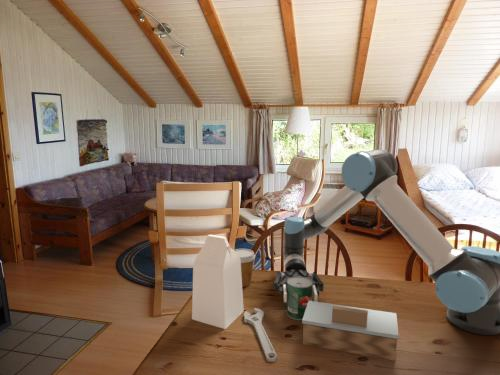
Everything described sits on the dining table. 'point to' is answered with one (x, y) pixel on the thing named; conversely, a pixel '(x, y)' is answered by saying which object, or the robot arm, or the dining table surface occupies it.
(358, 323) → the lid
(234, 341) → the dining table surface
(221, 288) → the milk
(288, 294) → the canned tomato
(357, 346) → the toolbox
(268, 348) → the adjustable wrench
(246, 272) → the disposable coffee cup
